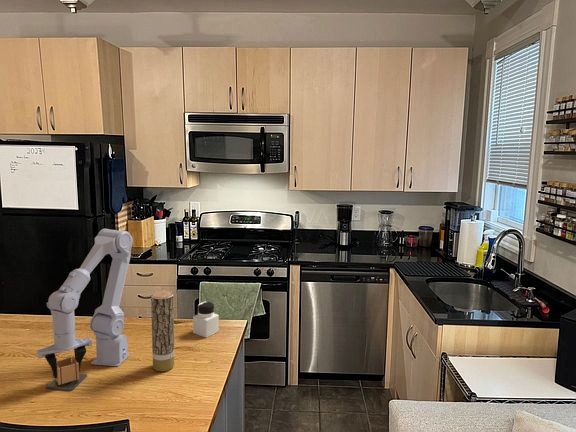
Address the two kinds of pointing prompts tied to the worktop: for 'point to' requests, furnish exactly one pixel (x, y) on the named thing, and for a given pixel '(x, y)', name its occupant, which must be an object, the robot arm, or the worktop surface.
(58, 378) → the brown hollow box
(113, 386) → the worktop surface
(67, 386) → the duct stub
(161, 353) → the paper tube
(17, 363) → the worktop surface
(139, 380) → the worktop surface
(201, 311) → the medicine bottle
